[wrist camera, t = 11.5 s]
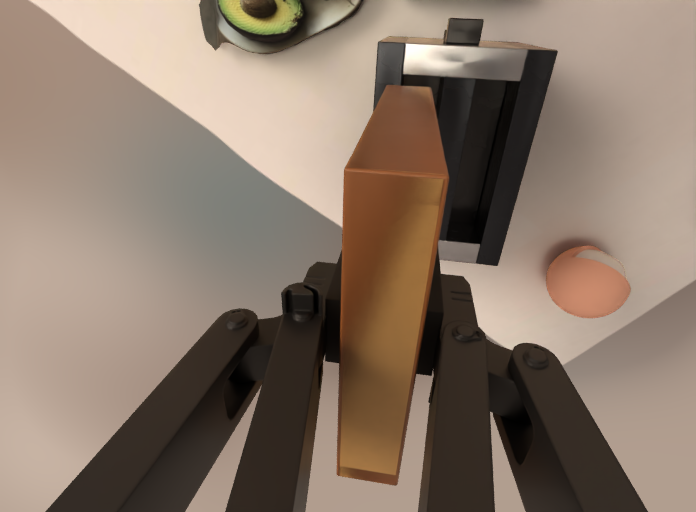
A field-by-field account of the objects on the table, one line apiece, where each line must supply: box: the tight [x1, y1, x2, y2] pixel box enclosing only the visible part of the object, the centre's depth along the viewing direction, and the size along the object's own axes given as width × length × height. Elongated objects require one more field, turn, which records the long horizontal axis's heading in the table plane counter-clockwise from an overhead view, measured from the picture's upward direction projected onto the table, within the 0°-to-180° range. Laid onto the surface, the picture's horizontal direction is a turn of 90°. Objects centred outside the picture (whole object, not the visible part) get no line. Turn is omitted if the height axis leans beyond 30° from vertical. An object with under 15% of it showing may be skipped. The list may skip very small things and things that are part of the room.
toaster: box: [373, 18, 558, 266], centre depth 36 cm, size 12×19×12 cm, turn 178°
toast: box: [337, 85, 449, 485], centre depth 17 cm, size 2×12×14 cm, turn 178°
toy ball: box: [546, 246, 630, 318], centre depth 43 cm, size 8×8×8 cm
